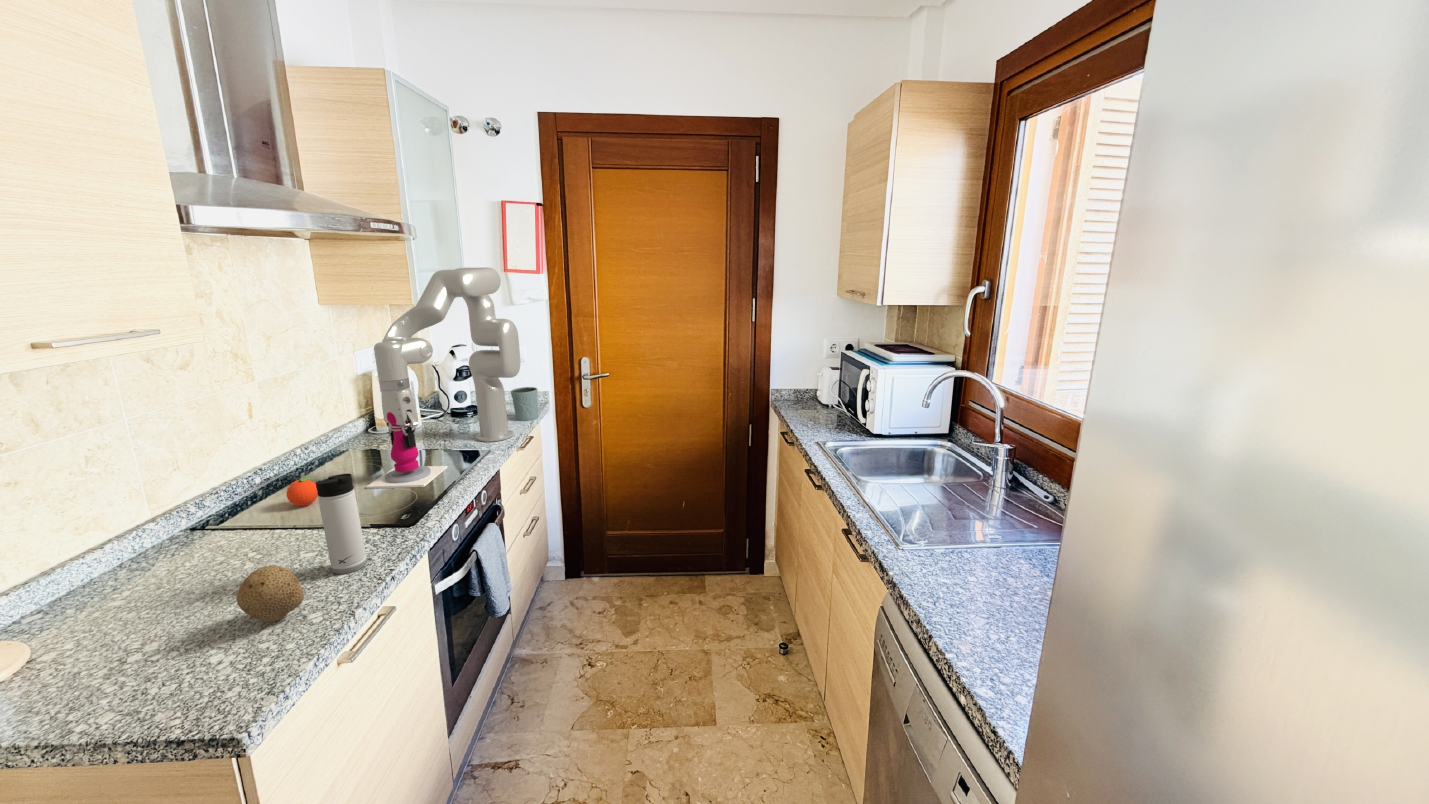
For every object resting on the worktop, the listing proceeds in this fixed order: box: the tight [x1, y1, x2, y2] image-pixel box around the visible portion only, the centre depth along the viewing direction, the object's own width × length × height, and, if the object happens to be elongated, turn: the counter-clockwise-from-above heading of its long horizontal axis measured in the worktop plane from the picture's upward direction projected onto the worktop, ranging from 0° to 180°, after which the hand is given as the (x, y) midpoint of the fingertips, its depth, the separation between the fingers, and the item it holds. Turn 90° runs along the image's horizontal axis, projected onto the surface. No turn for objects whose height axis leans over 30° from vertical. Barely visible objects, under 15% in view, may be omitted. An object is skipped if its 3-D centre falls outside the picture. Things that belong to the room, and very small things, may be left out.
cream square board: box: [365, 465, 448, 490], centre depth 172 cm, size 16×16×2 cm
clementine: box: [285, 477, 319, 507], centre depth 154 cm, size 8×7×7 cm
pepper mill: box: [387, 412, 420, 472], centre depth 170 cm, size 7×7×20 cm
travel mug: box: [315, 473, 368, 575], centre depth 119 cm, size 6×7×20 cm
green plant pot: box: [510, 386, 539, 422], centre depth 235 cm, size 10×10×12 cm
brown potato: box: [236, 565, 305, 623], centre depth 103 cm, size 9×9×10 cm
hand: (403, 445), depth 170 cm, fingers closed on pepper mill, 5 cm apart
